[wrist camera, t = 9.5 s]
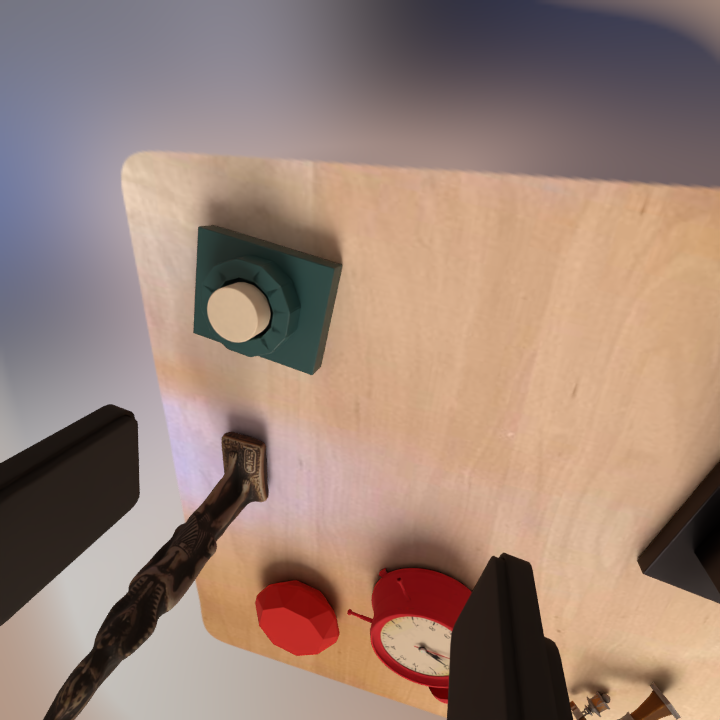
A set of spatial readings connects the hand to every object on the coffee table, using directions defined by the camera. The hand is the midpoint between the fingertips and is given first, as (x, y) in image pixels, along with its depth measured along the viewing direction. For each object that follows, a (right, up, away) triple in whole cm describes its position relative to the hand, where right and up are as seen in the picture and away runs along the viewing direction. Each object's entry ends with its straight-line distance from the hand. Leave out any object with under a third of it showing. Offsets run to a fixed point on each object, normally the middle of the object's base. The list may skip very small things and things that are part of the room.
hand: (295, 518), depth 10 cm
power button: (-6, +7, +16) cm, 19 cm away
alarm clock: (+9, -20, +27) cm, 35 cm away
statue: (-8, -6, +26) cm, 28 cm away
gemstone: (-4, -22, +32) cm, 39 cm away
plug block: (-5, +8, +19) cm, 21 cm away
